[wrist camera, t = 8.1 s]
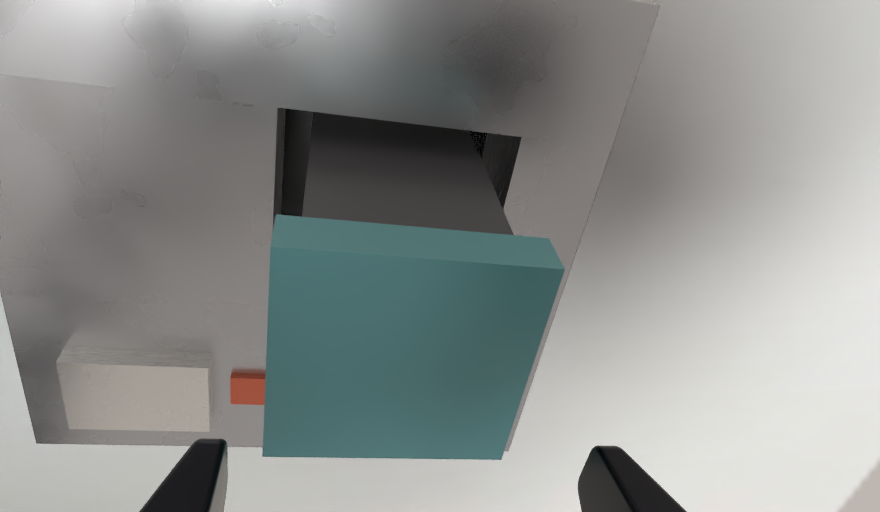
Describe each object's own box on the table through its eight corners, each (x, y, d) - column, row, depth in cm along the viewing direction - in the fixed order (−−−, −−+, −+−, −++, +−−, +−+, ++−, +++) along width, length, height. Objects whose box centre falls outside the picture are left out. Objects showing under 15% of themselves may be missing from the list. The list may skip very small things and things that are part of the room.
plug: (448, 251, 20) (501, 459, 13) (291, 239, 19) (263, 456, 12) (479, 104, 17) (565, 269, 11) (300, 81, 16) (270, 246, 10)
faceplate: (490, 385, 23) (512, 466, 20) (74, 369, 20) (27, 460, 17) (610, -21, 16) (672, 11, 13) (-15, -132, 13) (-123, -125, 10)
